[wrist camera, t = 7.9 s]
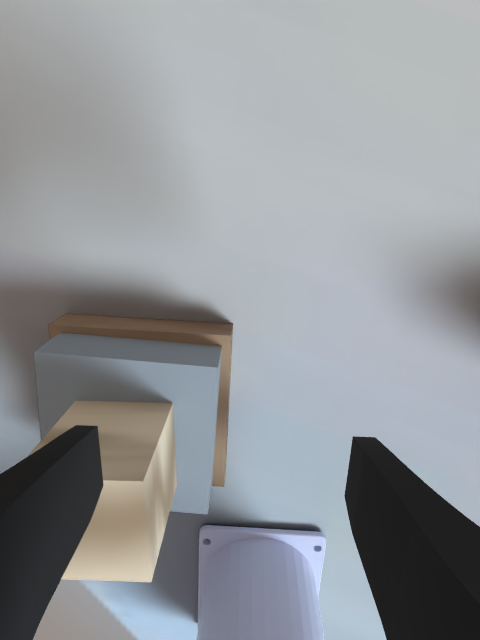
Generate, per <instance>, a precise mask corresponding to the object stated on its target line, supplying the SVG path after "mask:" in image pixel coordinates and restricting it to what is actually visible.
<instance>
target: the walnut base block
mask: <svg viewBox="0 0 480 640" xmlns="http://www.w3.org/2000/svg"><path fill="white" fill-rule="evenodd" d="M48 328H49V338H50V339H52V338H53V337H55V336H56V335H57V334H59V333H72V334H84V335H96V336H108V337H120V338H132V339H143V340H155V341H167V342H179V343H191V344H203V345H215V346H222V353H221V367H220V381H219V394H218V408H217V422H216V436H215V450H214V464H213V478H212V486H220V487H224V481H225V470H226V455H227V435H228V414H229V394H230V374H231V354H232V334H233V324H230V323H213V322H196V321H179V320H162V319H145V318H128V317H111V316H95V315H78V314H64V315H63V316H61V317H60V318H58V319H57V320H55V321H54V322H52V323H51V324H49V325H48Z"/></svg>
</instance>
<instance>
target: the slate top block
mask: <svg viewBox="0 0 480 640" xmlns="http://www.w3.org/2000/svg"><path fill="white" fill-rule="evenodd" d="M221 353H222V346H215V345H203V344H191V343H179V342H167V341H155V340H143V339H132V338H120V337H108V336H96V335H84V334H72V333H59V334H57V335H56V336H55V337H53V338H52V339H50V340H49V341H48V342H46V343H45V344H44V345H42V346H41V347H40V348H38V349H37V350H35V351H34V352H33V354H34V365H35V376H36V387H37V399H38V410H39V421H40V432H41V441H42V439H43V438H44V437H45V436H46V435H47V433H48V432H49V431H50V430H51V429H52V428H53V426H54V425H55V424H56V423H57V422H58V421H59V419H60V418H61V417H62V416H63V415H64V414H65V412H66V411H67V410H68V409H69V408H70V407H71V405H72V404H73V403H74V402H75V401H109V402H153V403H173V415H174V435H175V455H176V475H177V486H176V490H175V494H174V497H173V501H172V505H171V509H170V511H171V512H183V513H195V514H207V515H208V509H209V502H210V494H211V486H212V478H213V464H214V450H215V436H216V422H217V408H218V394H219V381H220V367H221Z"/></svg>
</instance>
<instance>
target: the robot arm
mask: <svg viewBox="0 0 480 640" xmlns="http://www.w3.org/2000/svg"><path fill="white" fill-rule="evenodd" d="M102 488H103V475H102V465H101V455H100V444H99V434H98V426H87V425H76V426H74V427H72V428H71V429H69V430H67V431H66V432H64V433H63V434H61V435H60V436H58V437H57V438H55V439H54V440H52V441H51V442H49V443H48V444H46V445H45V446H43V447H42V448H40V449H39V450H37V451H36V452H34V453H33V454H31V455H30V456H28V457H27V458H25V459H24V460H22V461H20V462H19V463H17V464H16V465H14V466H13V467H11V468H10V469H8V470H6V471H5V472H3V473H2V474H0V640H33V637H34V635H35V633H36V630H37V627H38V625H39V623H40V621H41V619H42V616H43V614H44V612H45V610H46V608H47V606H48V604H49V602H50V600H51V598H52V596H53V594H54V592H55V590H56V588H57V586H58V584H59V582H60V580H61V578H62V576H63V574H64V572H65V571H66V569H67V567H68V565H69V563H70V561H71V559H72V557H73V555H74V553H75V551H76V549H77V547H78V545H79V543H80V541H81V539H82V537H83V535H84V533H85V531H86V529H87V527H88V525H89V523H90V521H91V519H92V516H93V513H94V511H95V508H96V505H97V503H98V500H99V497H100V494H101V491H102ZM345 500H346V505H347V510H348V516H349V520H350V525H351V530H352V534H353V537H354V540H355V543H356V546H357V549H358V552H359V555H360V558H361V561H362V564H363V567H364V570H365V573H366V576H367V579H368V582H369V585H370V588H371V591H372V594H373V597H374V600H375V603H376V606H377V609H378V612H379V615H380V618H381V621H382V625H383V628H384V631H385V635H386V638H387V640H480V527H479V526H478V525H476V524H475V523H474V522H472V521H471V520H470V519H468V518H467V517H466V516H464V515H463V514H462V513H461V512H459V511H458V510H457V509H456V508H454V507H453V506H452V505H451V504H449V503H448V502H447V501H446V500H444V499H443V498H442V497H441V496H440V495H439V494H437V493H436V492H435V491H434V490H433V489H431V488H430V487H429V486H428V485H427V484H426V483H425V482H423V481H422V480H421V479H420V478H419V477H418V476H417V475H416V474H414V473H413V472H412V471H411V470H410V469H409V468H408V467H407V466H406V465H405V464H404V463H402V462H401V461H400V460H399V459H398V458H397V457H396V456H395V455H394V454H393V453H392V452H391V451H390V450H388V449H387V448H386V447H385V446H384V445H383V444H382V443H381V442H380V441H378V440H377V439H376V438H375V437H353V440H352V447H351V455H350V462H349V469H348V476H347V483H346V490H345ZM205 539H209V540H205ZM317 545H319V546H317ZM325 547H326V538H325V535H324V534H323V533H322V532H316V531H299V530H282V529H265V528H247V527H230V526H213V525H205V526H203V527H201V529H200V533H199V580H198V634H197V640H325V638H324V632H323V626H322V620H321V614H320V608H319V602H318V595H319V589H320V582H321V575H322V568H323V561H324V554H325Z"/></svg>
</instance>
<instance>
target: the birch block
mask: <svg viewBox="0 0 480 640" xmlns="http://www.w3.org/2000/svg"><path fill="white" fill-rule="evenodd" d="M76 425H87V426H98V434H99V444H100V455H101V465H102V475H103V488H102V491H101V494H100V497H99V500H98V503H97V505H96V508H95V511H94V513H93V516H92V519H91V521H90V523H89V525H88V527H87V529H86V531H85V533H84V535H83V537H82V539H81V541H80V543H79V545H78V547H77V549H76V551H75V553H74V555H73V557H72V559H71V561H70V563H69V565H68V567H67V569H66V571H65V572H64V574H63V576H62V578H61V579H71V580H99V581H127V582H152V578H153V574H154V571H155V567H156V563H157V559H158V555H159V551H160V547H161V544H162V540H163V536H164V532H165V528H166V524H167V520H168V517H169V513H170V509H171V505H172V501H173V497H174V494H175V490H176V486H177V475H176V455H175V435H174V415H173V403H153V402H109V401H75V402H74V403H73V404H72V405H71V407H70V408H69V409H68V410H67V411H66V412H65V414H64V415H63V416H62V417H61V418H60V419H59V421H58V422H57V423H56V424H55V425H54V426H53V428H52V429H51V430H50V431H49V432H48V433H47V435H46V436H45V437H44V438H43V439H42V441H41V442H40V443H39V444H38V445H37V446H36V448H35V449H34V450H33V451H32V452H31V453H30V455H31V454H33V453H34V452H36V451H37V450H39V449H40V448H42V447H43V446H45V445H46V444H48V443H49V442H51V441H52V440H54V439H55V438H57V437H58V436H60V435H61V434H63V433H64V432H66V431H67V430H69V429H71V428H72V427H74V426H76ZM30 455H29V456H30Z"/></svg>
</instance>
